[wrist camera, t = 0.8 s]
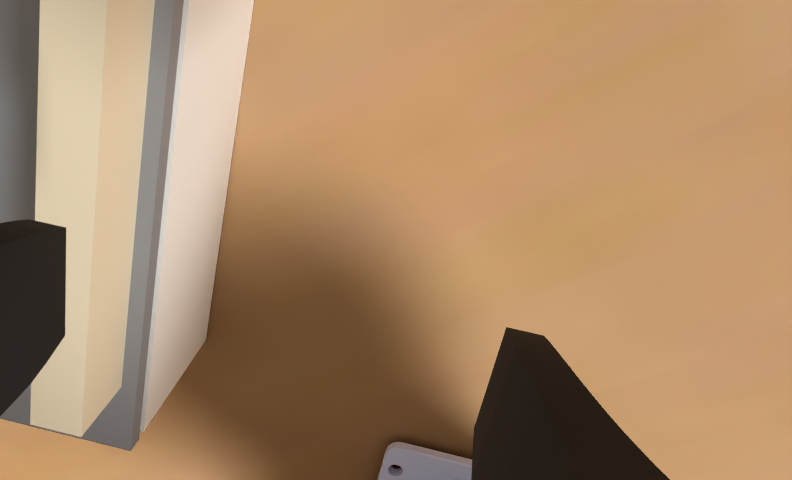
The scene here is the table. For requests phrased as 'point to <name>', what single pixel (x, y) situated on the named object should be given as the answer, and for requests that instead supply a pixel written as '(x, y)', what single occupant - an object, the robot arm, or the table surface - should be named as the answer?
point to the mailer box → (195, 188)
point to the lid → (90, 191)
